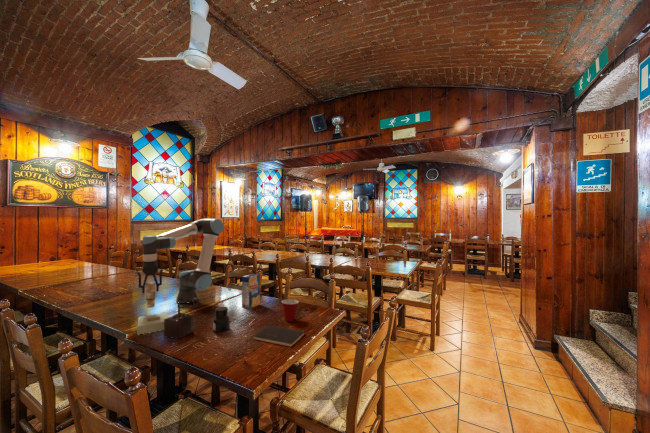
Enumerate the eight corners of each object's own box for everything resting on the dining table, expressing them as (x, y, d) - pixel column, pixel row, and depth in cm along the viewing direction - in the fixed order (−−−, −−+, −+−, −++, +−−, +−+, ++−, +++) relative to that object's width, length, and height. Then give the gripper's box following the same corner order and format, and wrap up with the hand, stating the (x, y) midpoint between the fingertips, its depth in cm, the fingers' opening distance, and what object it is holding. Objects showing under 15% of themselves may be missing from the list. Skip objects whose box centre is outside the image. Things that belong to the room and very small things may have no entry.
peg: (155, 304, 175) (155, 281, 175) (155, 307, 171) (155, 283, 170) (146, 306, 172) (145, 282, 172) (146, 308, 168) (145, 284, 168)
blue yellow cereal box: (241, 307, 195) (242, 276, 195) (252, 303, 205) (252, 273, 205) (249, 308, 192) (249, 277, 192) (259, 304, 202) (259, 274, 202)
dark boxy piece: (179, 339, 144) (179, 305, 144) (163, 336, 147) (163, 303, 147) (201, 328, 159) (201, 297, 159) (186, 325, 162) (186, 295, 162)
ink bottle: (217, 325, 162) (217, 305, 162) (232, 326, 162) (232, 306, 162) (209, 332, 153) (210, 311, 153) (225, 333, 152) (225, 311, 152)
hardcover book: (291, 348, 137) (291, 343, 137) (252, 340, 145) (252, 335, 145) (304, 335, 152) (305, 331, 152) (269, 328, 160) (269, 324, 160)
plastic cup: (301, 318, 175) (302, 299, 175) (292, 324, 165) (292, 304, 165) (288, 315, 180) (288, 297, 180) (277, 321, 170) (277, 301, 170)
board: (167, 320, 170) (167, 312, 170) (169, 329, 156) (169, 320, 156) (138, 325, 162) (138, 317, 162) (137, 335, 148) (137, 326, 148)
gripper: (166, 258, 179) (166, 293, 179) (133, 260, 169) (133, 298, 170) (166, 259, 172) (167, 296, 173) (132, 262, 163) (133, 301, 163)
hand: (150, 297), depth 171 cm, fingers closed on peg, 5 cm apart
